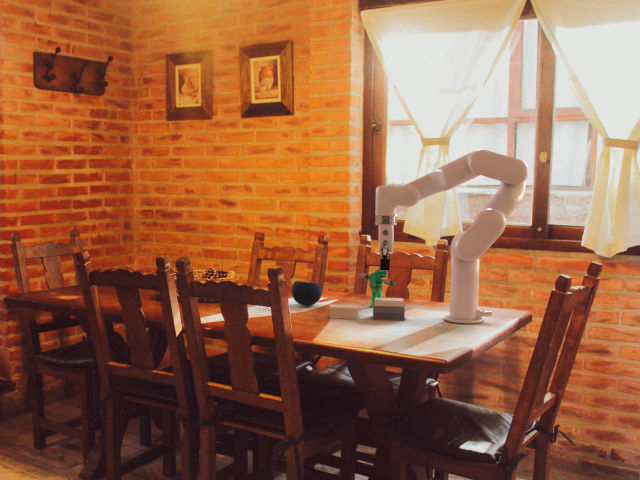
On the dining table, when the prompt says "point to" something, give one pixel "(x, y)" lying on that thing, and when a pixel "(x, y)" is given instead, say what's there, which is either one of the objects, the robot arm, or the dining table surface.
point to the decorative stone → (306, 292)
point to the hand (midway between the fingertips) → (384, 268)
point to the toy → (377, 283)
